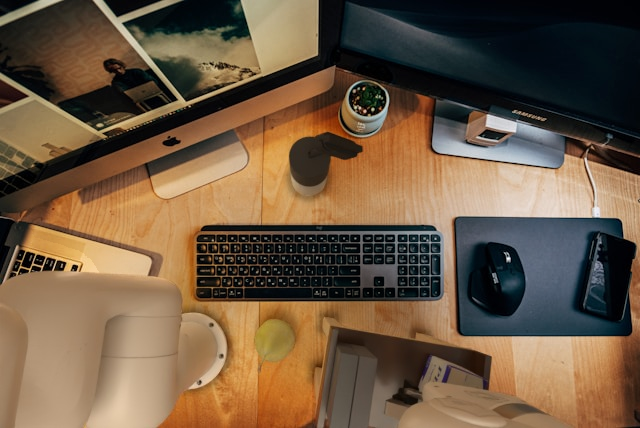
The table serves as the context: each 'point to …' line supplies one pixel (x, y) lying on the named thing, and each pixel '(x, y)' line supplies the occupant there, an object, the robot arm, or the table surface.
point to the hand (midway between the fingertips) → (447, 401)
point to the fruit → (274, 341)
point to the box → (449, 375)
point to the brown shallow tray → (393, 367)
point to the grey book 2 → (363, 388)
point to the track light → (317, 160)
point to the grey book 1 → (342, 386)
